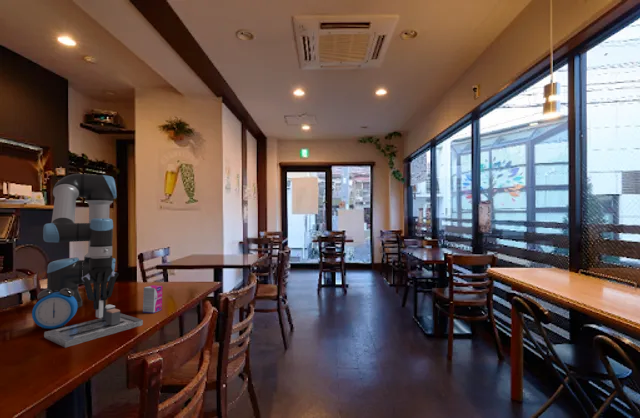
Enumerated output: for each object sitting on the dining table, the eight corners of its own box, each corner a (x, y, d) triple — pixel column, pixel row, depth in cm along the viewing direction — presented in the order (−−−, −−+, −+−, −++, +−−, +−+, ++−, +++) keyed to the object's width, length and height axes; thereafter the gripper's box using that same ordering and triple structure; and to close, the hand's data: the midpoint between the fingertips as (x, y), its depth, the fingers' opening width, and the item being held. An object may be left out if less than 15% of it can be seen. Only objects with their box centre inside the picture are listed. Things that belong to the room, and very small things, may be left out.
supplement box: (153, 313, 144) (154, 288, 144) (142, 313, 145) (142, 287, 145) (162, 310, 150) (162, 285, 150) (151, 309, 151) (151, 284, 151)
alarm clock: (30, 331, 121) (31, 292, 121) (37, 326, 127) (38, 288, 127) (73, 326, 127) (74, 288, 127) (77, 322, 132) (78, 285, 133)
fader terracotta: (106, 323, 123) (106, 310, 123) (114, 321, 126) (114, 308, 126) (111, 325, 121) (111, 311, 121) (119, 323, 124) (120, 309, 124)
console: (44, 337, 115) (44, 331, 115) (120, 318, 138) (120, 312, 138) (65, 347, 106) (65, 340, 107) (142, 325, 129) (142, 319, 129)
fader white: (101, 318, 129) (101, 306, 129) (109, 316, 132) (109, 304, 132) (106, 320, 127) (107, 307, 127) (114, 318, 130) (115, 305, 130)
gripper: (86, 259, 120) (85, 323, 119) (123, 256, 131) (121, 314, 130) (77, 258, 124) (75, 319, 123) (113, 254, 135) (112, 311, 134)
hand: (99, 316), depth 127 cm, fingers closed
